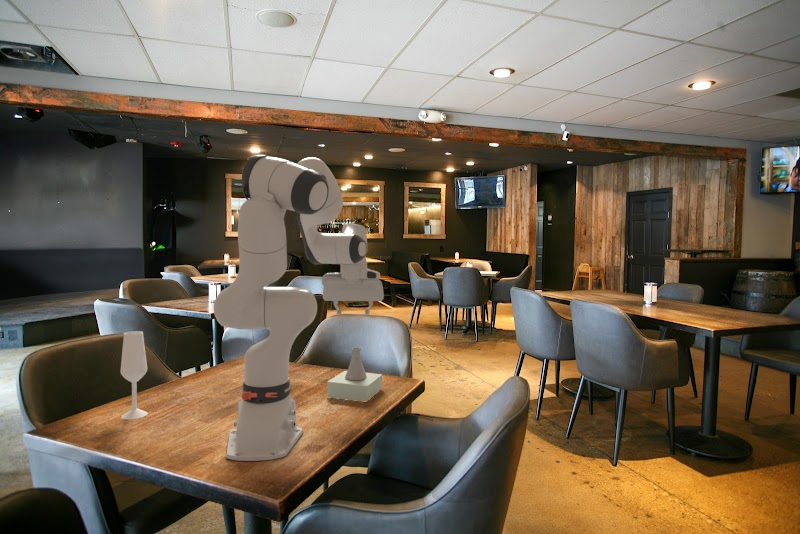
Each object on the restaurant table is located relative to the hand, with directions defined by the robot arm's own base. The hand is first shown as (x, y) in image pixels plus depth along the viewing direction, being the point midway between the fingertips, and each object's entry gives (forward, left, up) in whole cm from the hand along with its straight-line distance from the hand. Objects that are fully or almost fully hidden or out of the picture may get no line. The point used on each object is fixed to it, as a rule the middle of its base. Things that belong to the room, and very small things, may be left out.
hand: (353, 314), depth 156 cm
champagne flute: (-16, +62, -27) cm, 70 cm away
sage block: (-1, -1, -27) cm, 27 cm away
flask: (-1, -1, -22) cm, 22 cm away
